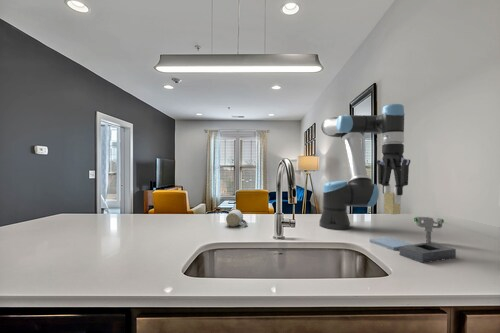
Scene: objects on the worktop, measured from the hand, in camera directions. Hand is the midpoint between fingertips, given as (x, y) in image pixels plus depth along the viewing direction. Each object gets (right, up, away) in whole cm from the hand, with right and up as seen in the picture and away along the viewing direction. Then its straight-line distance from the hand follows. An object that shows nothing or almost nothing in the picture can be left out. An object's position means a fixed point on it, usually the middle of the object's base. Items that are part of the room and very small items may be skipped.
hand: (392, 202), depth 99 cm
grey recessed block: (+4, -16, -13) cm, 22 cm away
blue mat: (0, -16, 0) cm, 16 cm away
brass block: (0, -4, 0) cm, 4 cm away
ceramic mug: (-63, -16, +28) cm, 71 cm away
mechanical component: (+17, -17, +4) cm, 25 cm away
